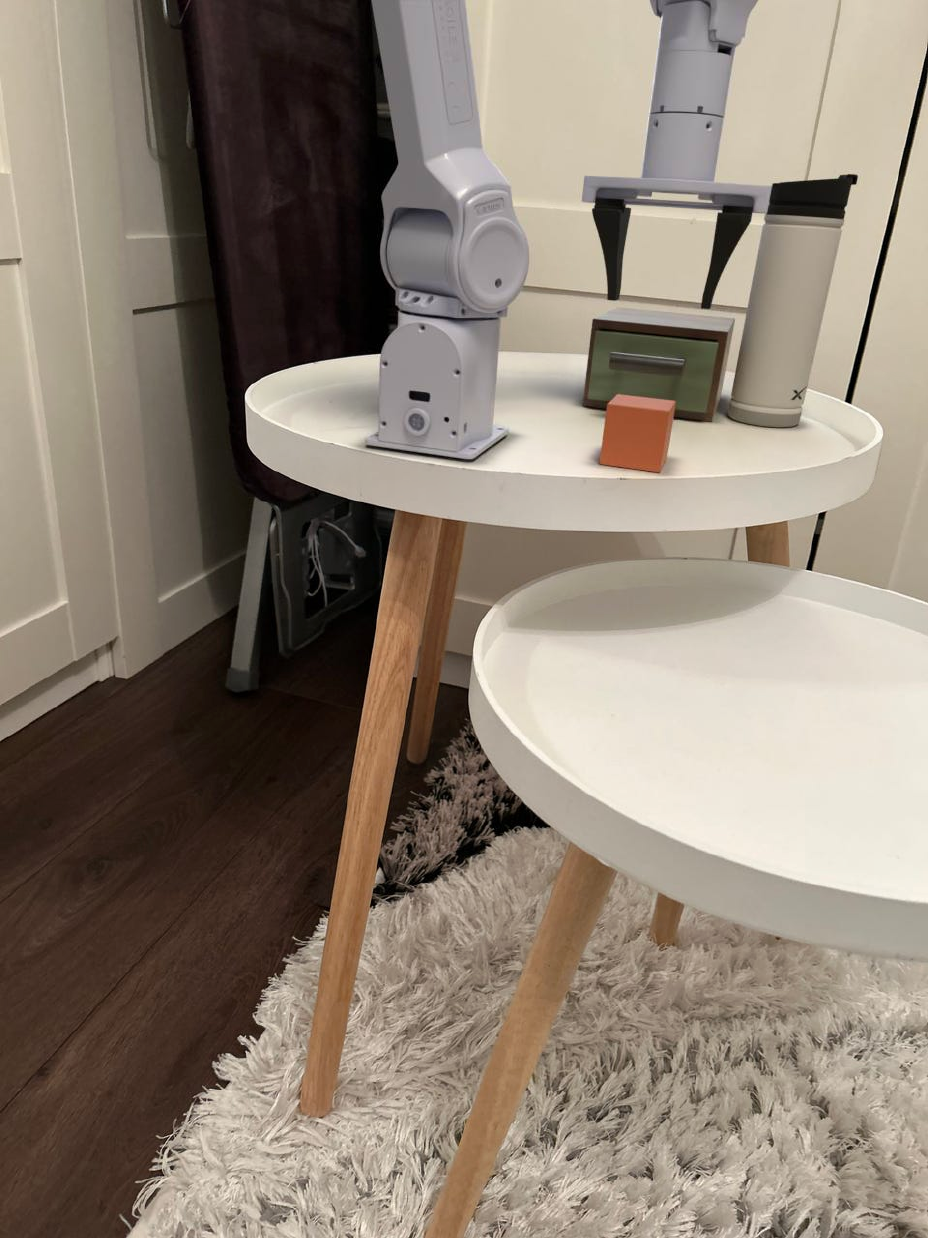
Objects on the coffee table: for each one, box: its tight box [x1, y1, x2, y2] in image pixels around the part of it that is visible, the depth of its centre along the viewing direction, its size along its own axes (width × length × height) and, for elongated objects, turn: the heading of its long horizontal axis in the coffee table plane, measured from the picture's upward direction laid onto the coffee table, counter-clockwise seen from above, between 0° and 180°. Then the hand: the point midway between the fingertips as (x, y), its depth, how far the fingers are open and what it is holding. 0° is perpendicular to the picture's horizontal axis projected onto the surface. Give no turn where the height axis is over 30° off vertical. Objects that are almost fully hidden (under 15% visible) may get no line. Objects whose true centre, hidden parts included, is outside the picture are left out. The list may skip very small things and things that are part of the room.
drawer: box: [588, 330, 719, 413], centre depth 79 cm, size 17×10×6 cm, turn 162°
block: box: [599, 394, 676, 473], centre depth 62 cm, size 4×4×4 cm
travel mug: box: [727, 173, 859, 428], centre depth 75 cm, size 6×7×20 cm
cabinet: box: [582, 307, 736, 423], centre depth 83 cm, size 14×12×8 cm
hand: (658, 303), depth 73 cm, fingers open, 7 cm apart
